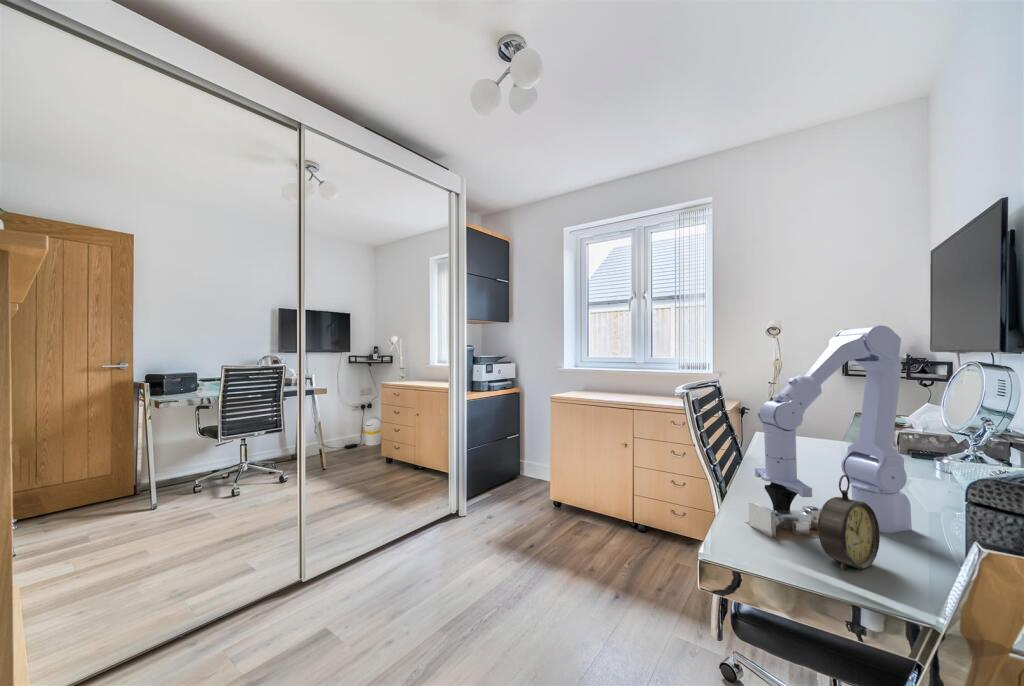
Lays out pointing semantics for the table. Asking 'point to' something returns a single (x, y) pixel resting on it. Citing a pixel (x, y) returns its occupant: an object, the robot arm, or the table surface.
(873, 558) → the alarm clock
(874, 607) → the table surface
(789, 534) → the board
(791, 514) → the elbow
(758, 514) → the square plate with knob
